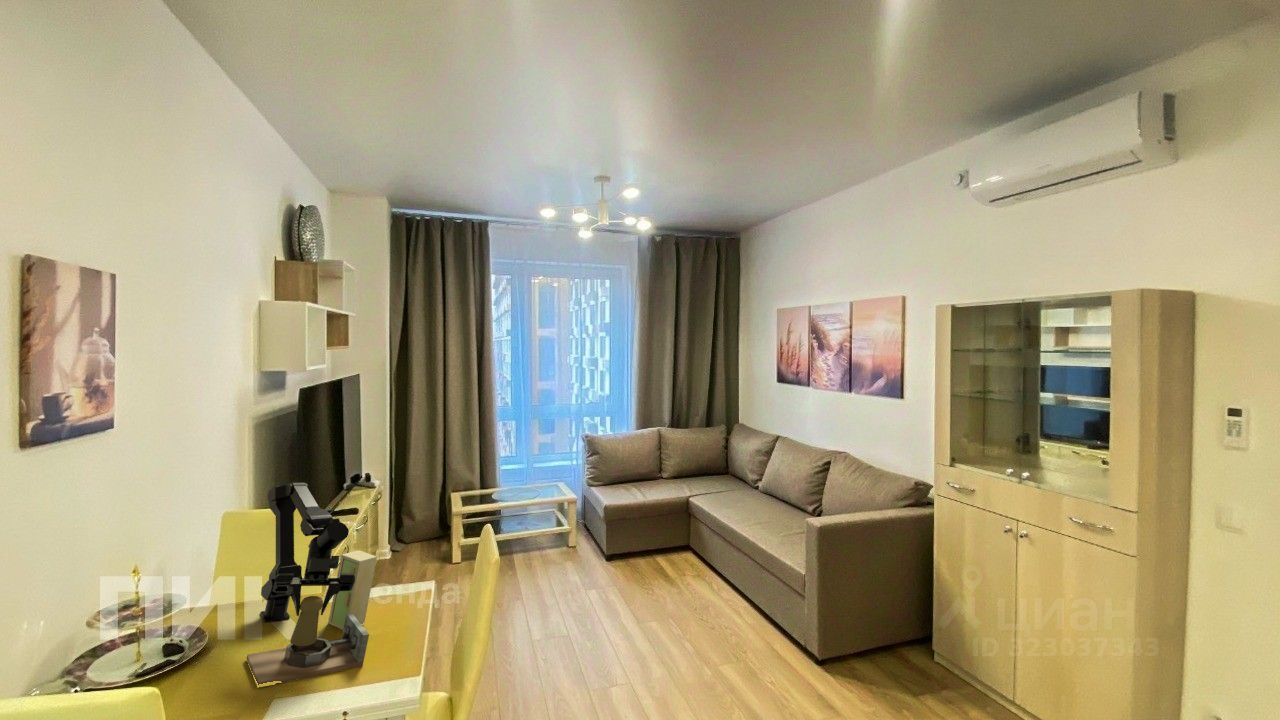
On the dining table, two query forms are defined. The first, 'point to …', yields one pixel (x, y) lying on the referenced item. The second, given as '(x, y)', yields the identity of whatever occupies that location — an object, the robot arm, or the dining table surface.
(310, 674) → the wooden peg base
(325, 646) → the clip ring
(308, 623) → the cork
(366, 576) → the toy refrigerator
